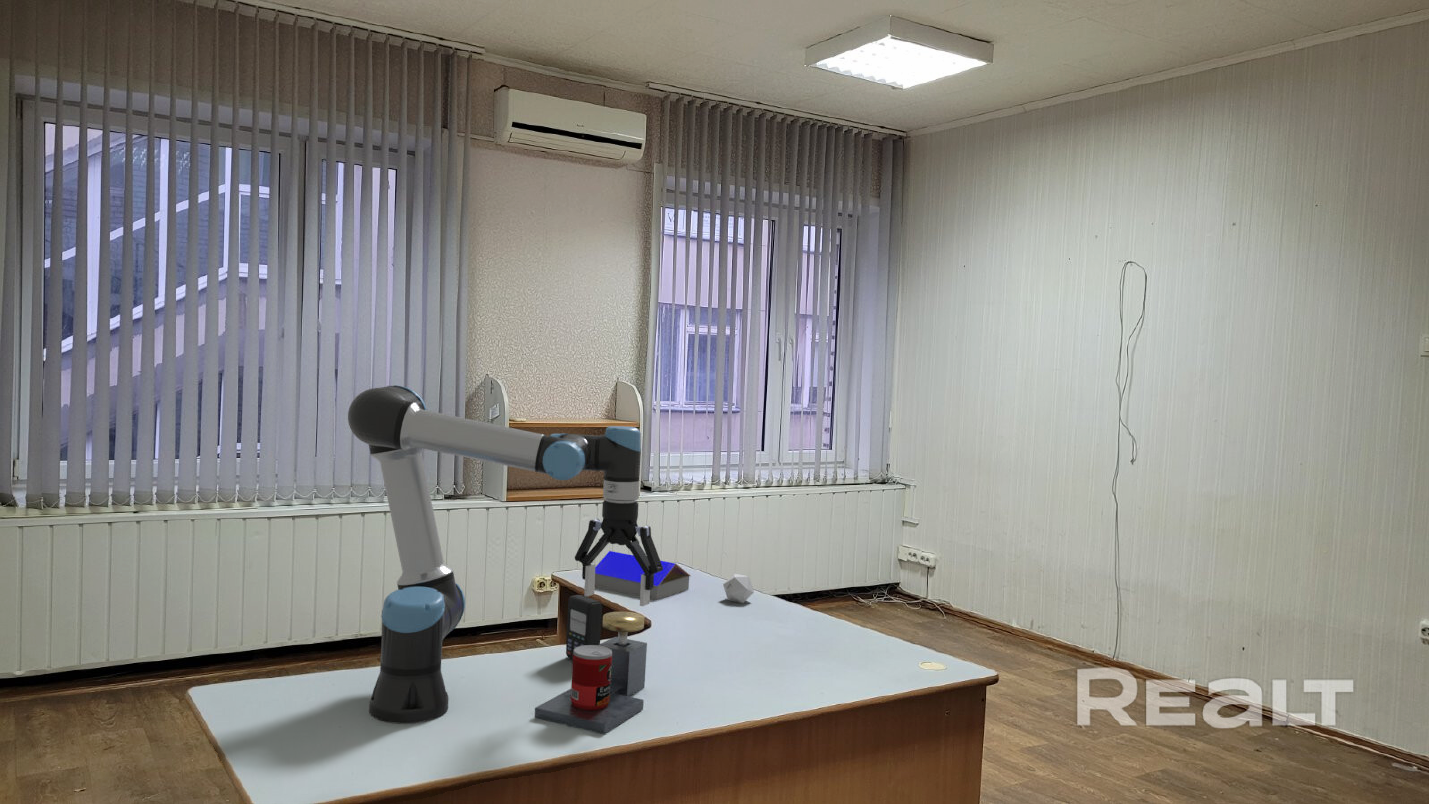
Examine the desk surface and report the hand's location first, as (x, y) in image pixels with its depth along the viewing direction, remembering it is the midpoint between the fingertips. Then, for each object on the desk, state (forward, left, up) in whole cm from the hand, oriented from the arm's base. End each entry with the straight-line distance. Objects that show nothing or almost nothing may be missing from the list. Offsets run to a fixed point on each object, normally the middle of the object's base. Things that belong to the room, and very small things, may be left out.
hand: (616, 600), depth 216 cm
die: (-10, +94, -22) cm, 97 cm away
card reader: (-18, +18, -21) cm, 34 cm away
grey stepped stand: (+1, -4, -21) cm, 22 cm away
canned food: (+1, -10, -19) cm, 22 cm away
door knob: (-1, +6, -15) cm, 16 cm away
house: (-41, +91, -22) cm, 102 cm away
